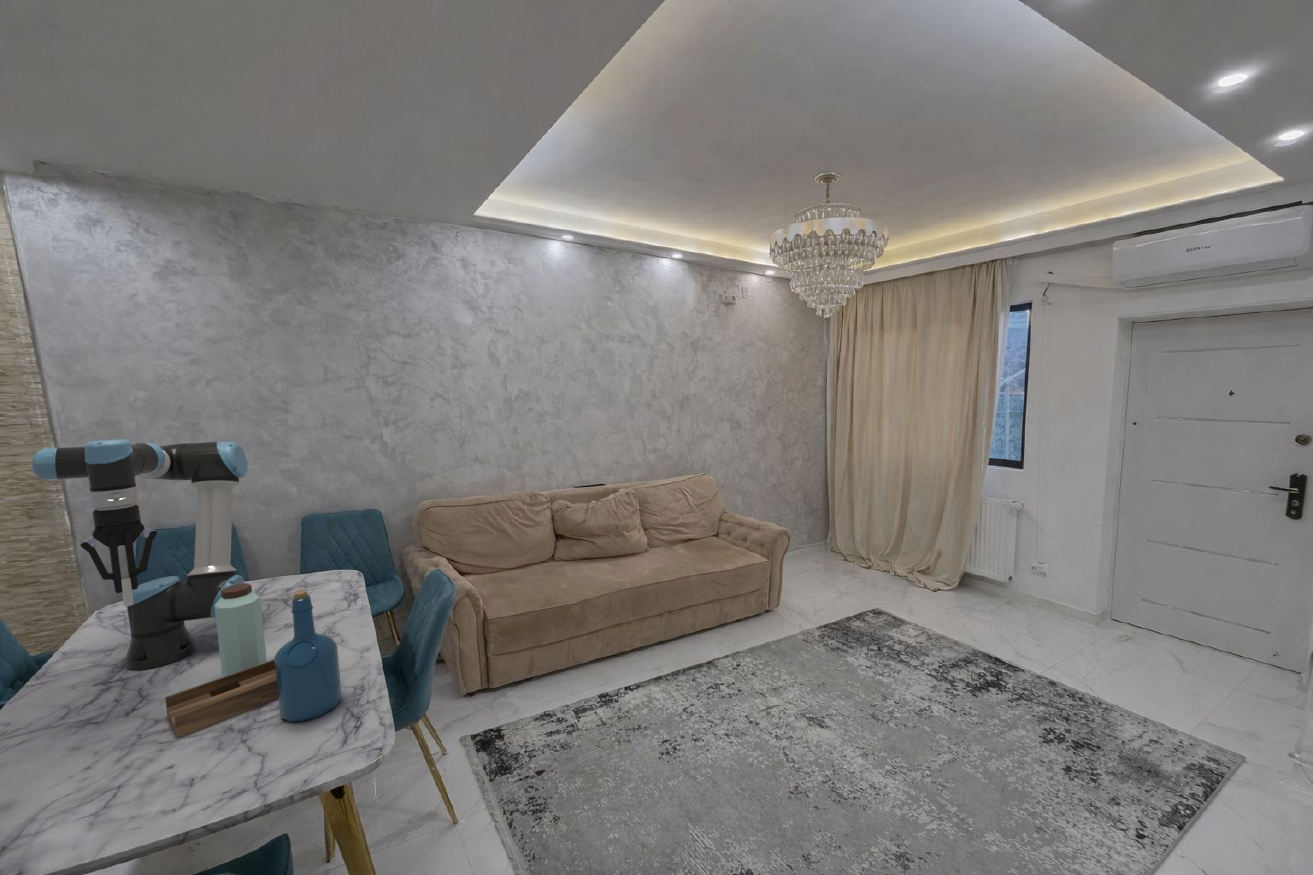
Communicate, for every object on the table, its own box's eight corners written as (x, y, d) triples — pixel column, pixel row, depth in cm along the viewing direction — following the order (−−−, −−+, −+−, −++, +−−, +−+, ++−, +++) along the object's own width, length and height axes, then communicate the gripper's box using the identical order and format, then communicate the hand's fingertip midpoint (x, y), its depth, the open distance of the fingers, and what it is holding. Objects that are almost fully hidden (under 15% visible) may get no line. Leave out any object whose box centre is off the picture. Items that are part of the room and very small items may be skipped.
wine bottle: (286, 699, 136) (275, 587, 133) (345, 686, 141) (336, 578, 138) (272, 731, 123) (259, 608, 120) (337, 716, 128) (327, 597, 125)
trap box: (167, 716, 130) (164, 693, 129) (307, 664, 152) (305, 645, 152) (177, 738, 121) (174, 713, 121) (323, 680, 144) (321, 659, 144)
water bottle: (242, 685, 143) (233, 596, 140) (212, 681, 145) (202, 593, 142) (276, 665, 152) (267, 582, 150) (247, 662, 154) (238, 580, 152)
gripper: (75, 514, 115) (89, 618, 118) (156, 503, 125) (168, 599, 128) (73, 509, 120) (87, 609, 123) (151, 499, 130) (163, 591, 132)
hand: (128, 604), depth 125 cm, fingers closed
